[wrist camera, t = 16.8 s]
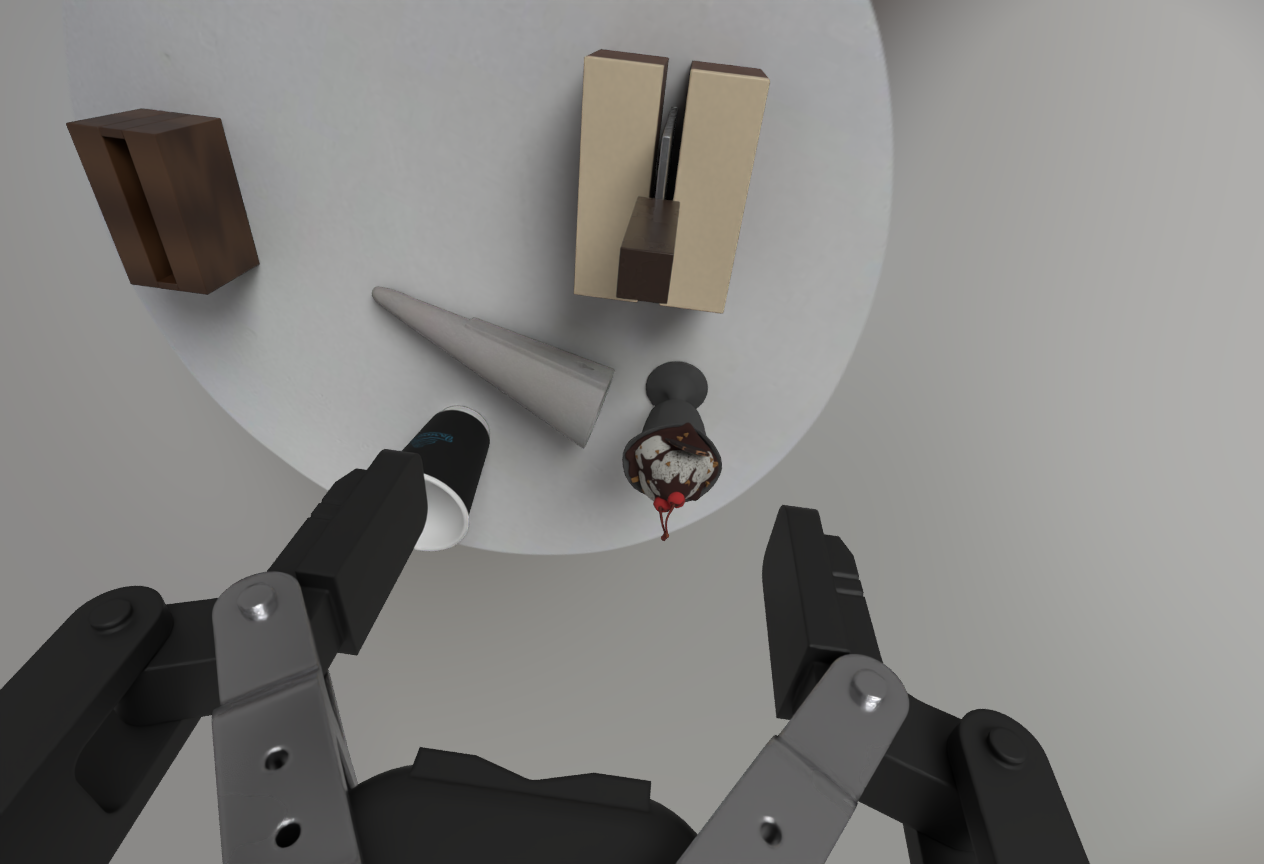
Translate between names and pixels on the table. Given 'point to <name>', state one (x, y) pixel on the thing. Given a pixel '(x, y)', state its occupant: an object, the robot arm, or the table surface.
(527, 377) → the long tapered cone
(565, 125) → the table surface
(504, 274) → the table surface
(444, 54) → the table surface
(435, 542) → the dixie cup
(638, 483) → the sundae
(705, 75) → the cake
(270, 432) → the table surface
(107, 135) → the knife stand
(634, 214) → the knife
